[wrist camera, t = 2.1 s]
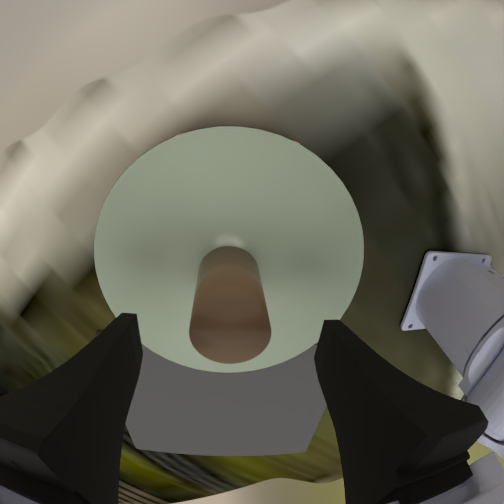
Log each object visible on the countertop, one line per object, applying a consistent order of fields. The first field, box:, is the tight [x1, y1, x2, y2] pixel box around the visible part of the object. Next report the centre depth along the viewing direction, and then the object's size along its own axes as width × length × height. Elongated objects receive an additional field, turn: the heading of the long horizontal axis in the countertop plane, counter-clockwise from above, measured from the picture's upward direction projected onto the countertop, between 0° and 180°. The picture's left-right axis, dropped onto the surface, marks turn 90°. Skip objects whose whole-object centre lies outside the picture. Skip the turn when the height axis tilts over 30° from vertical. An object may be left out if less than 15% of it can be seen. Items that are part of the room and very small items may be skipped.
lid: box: [94, 126, 364, 373], centre depth 14 cm, size 15×15×6 cm
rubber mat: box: [96, 331, 327, 456], centre depth 28 cm, size 22×20×1 cm
